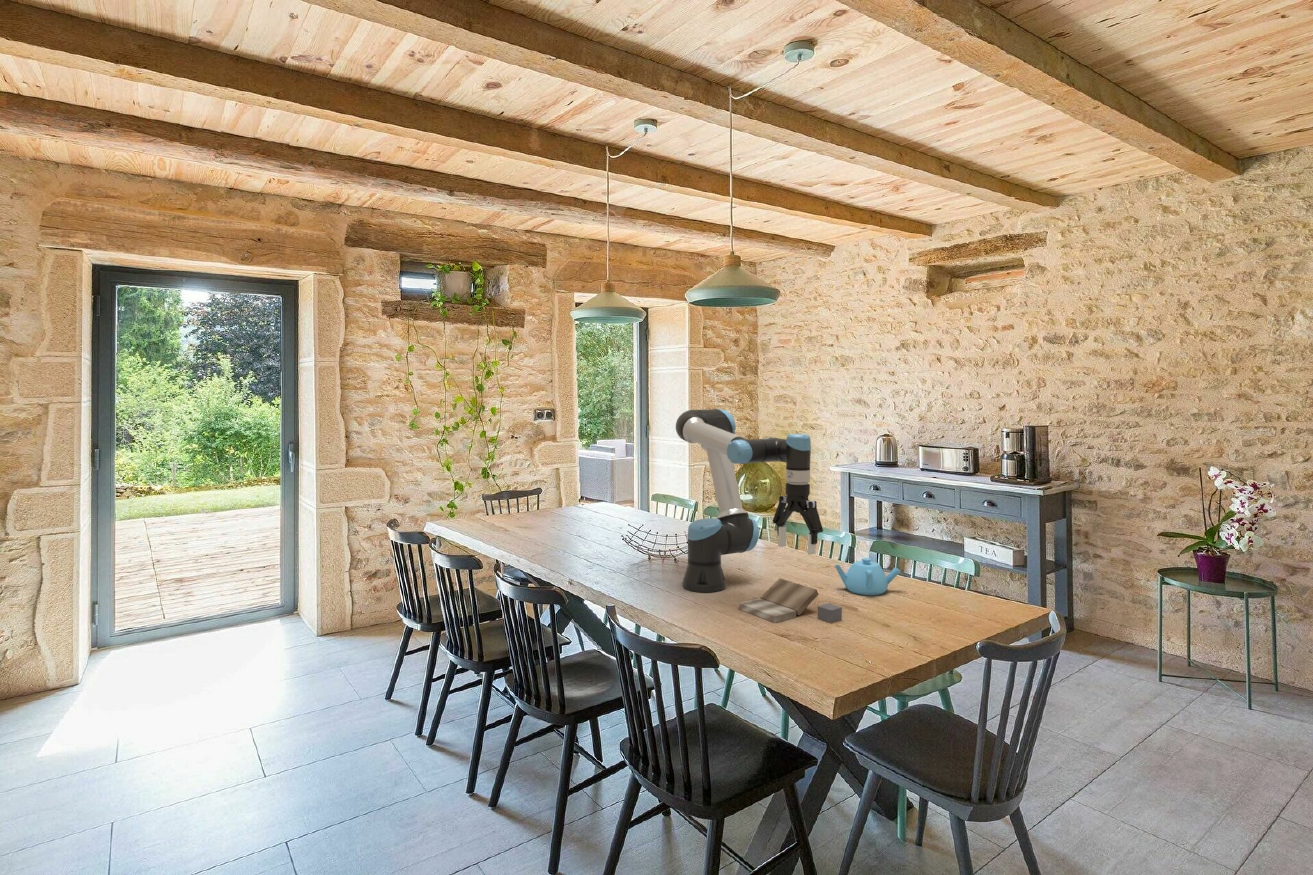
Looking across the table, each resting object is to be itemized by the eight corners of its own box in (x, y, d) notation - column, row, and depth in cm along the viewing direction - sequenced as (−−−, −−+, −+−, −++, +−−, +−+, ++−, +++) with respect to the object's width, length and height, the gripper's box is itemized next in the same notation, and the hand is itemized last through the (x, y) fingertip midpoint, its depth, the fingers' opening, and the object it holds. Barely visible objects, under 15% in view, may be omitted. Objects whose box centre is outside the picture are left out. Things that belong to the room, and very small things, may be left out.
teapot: (876, 600, 230) (877, 567, 229) (832, 589, 243) (833, 557, 242) (901, 592, 240) (902, 559, 239) (858, 581, 253) (858, 551, 252)
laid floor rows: (738, 609, 221) (738, 602, 221) (759, 604, 226) (759, 597, 226) (774, 622, 208) (775, 616, 208) (796, 617, 213) (796, 610, 213)
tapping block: (817, 619, 212) (817, 606, 211) (828, 615, 215) (828, 603, 214) (830, 623, 208) (830, 610, 207) (841, 620, 211) (841, 607, 210)
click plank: (762, 602, 227) (760, 597, 226) (781, 582, 231) (779, 578, 230) (799, 615, 213) (796, 610, 213) (818, 594, 218) (816, 589, 217)
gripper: (762, 479, 229) (761, 544, 230) (819, 488, 209) (817, 559, 211) (778, 477, 233) (777, 541, 235) (835, 486, 213) (834, 555, 215)
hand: (796, 550), depth 223 cm, fingers open, 12 cm apart
